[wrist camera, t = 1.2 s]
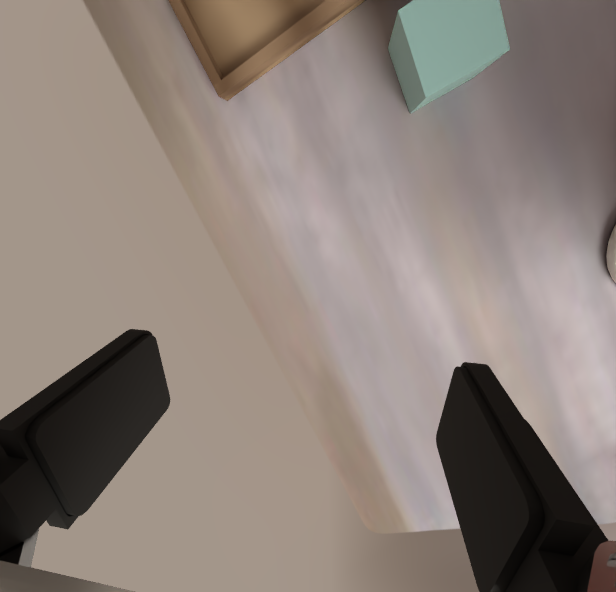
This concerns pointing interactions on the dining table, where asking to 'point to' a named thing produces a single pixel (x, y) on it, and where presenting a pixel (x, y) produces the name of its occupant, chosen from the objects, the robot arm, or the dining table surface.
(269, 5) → the walnut tray
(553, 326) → the dining table surface
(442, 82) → the teal block
